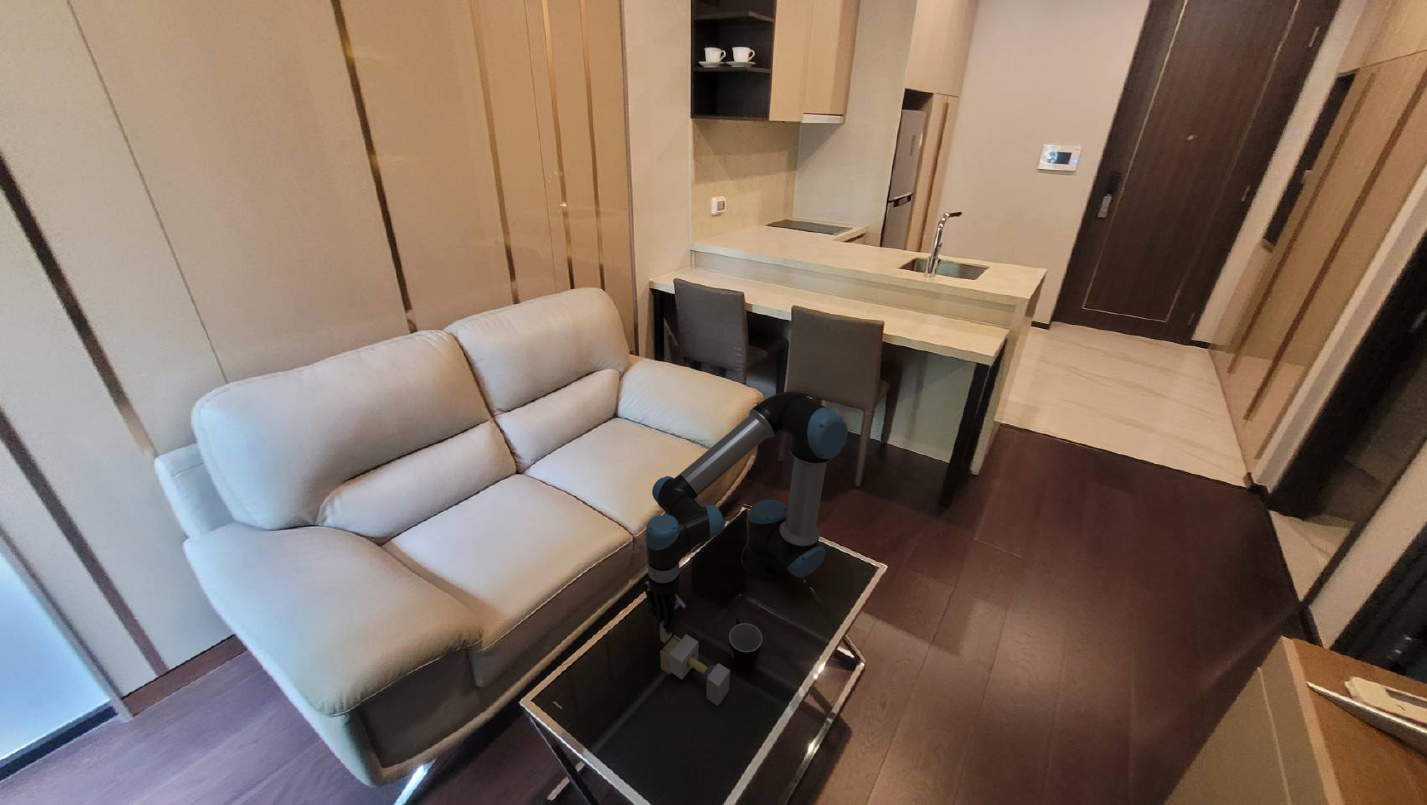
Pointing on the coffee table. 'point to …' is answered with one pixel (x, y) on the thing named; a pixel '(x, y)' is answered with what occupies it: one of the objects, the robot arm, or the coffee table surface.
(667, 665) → the blocks on yellow rod
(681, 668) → the sleeve
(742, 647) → the coffee mug
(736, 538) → the coffee table surface
